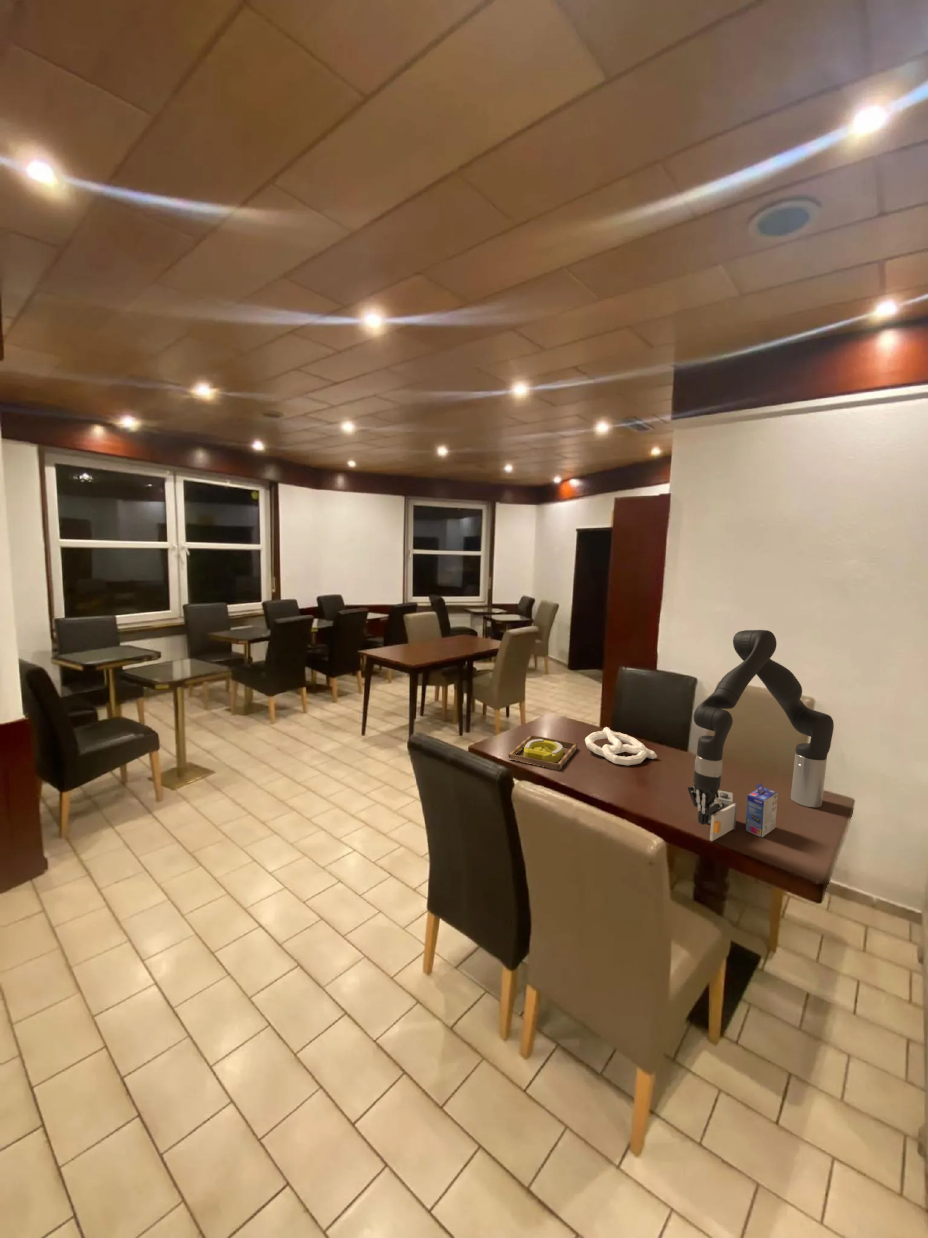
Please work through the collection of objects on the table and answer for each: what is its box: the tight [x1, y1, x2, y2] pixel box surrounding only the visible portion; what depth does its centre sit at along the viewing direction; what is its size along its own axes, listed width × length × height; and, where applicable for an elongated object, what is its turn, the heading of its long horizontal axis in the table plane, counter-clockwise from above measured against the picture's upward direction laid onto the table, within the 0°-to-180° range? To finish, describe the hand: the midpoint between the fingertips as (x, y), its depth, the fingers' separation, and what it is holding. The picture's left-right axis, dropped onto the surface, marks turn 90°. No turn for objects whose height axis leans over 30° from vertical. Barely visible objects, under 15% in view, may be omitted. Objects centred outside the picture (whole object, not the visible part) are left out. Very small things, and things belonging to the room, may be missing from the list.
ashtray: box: [523, 739, 565, 763], centre depth 219 cm, size 16×21×5 cm
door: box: [709, 802, 738, 842], centre depth 157 cm, size 2×14×8 cm, turn 125°
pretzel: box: [584, 726, 658, 766], centre depth 223 cm, size 28×24×6 cm
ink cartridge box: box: [745, 782, 779, 838], centre depth 161 cm, size 10×6×14 cm, turn 127°
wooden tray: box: [508, 734, 578, 771], centre depth 221 cm, size 27×22×2 cm
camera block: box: [707, 789, 734, 825], centre depth 167 cm, size 7×9×10 cm
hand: (702, 823), depth 158 cm, fingers closed
